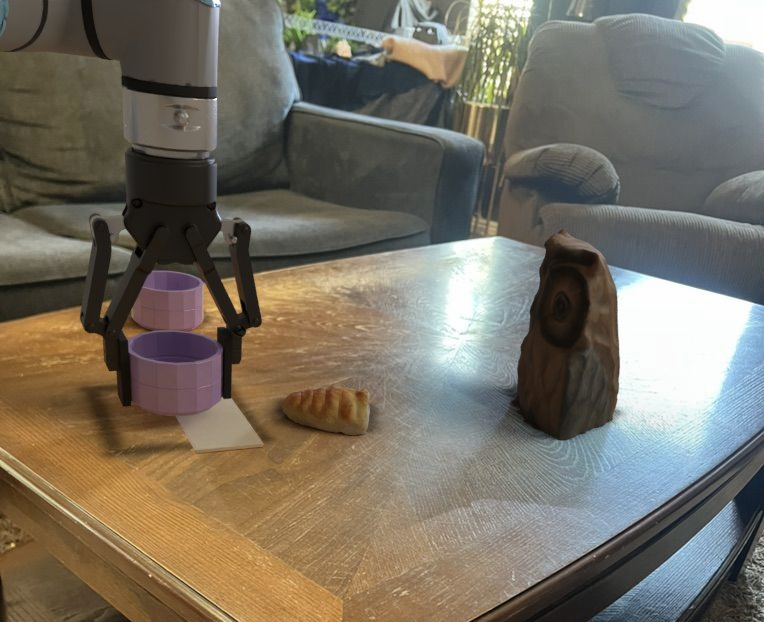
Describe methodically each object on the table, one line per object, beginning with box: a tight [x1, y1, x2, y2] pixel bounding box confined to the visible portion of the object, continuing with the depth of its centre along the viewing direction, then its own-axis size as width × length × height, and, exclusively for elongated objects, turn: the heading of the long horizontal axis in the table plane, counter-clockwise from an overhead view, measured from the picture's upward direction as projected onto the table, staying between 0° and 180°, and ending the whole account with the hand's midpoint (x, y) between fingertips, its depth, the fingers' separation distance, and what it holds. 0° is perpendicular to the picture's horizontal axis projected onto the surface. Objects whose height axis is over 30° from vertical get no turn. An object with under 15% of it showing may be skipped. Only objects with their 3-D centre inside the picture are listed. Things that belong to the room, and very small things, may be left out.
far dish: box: [130, 270, 205, 332], centre depth 101 cm, size 9×9×6 cm
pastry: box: [281, 384, 371, 436], centre depth 82 cm, size 9×7×4 cm
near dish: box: [127, 330, 223, 417], centre depth 75 cm, size 9×9×6 cm
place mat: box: [175, 397, 265, 454], centre depth 78 cm, size 14×14×1 cm
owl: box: [510, 228, 621, 441], centre depth 87 cm, size 13×13×20 cm
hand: (175, 396), depth 77 cm, fingers closed on near dish, 9 cm apart
